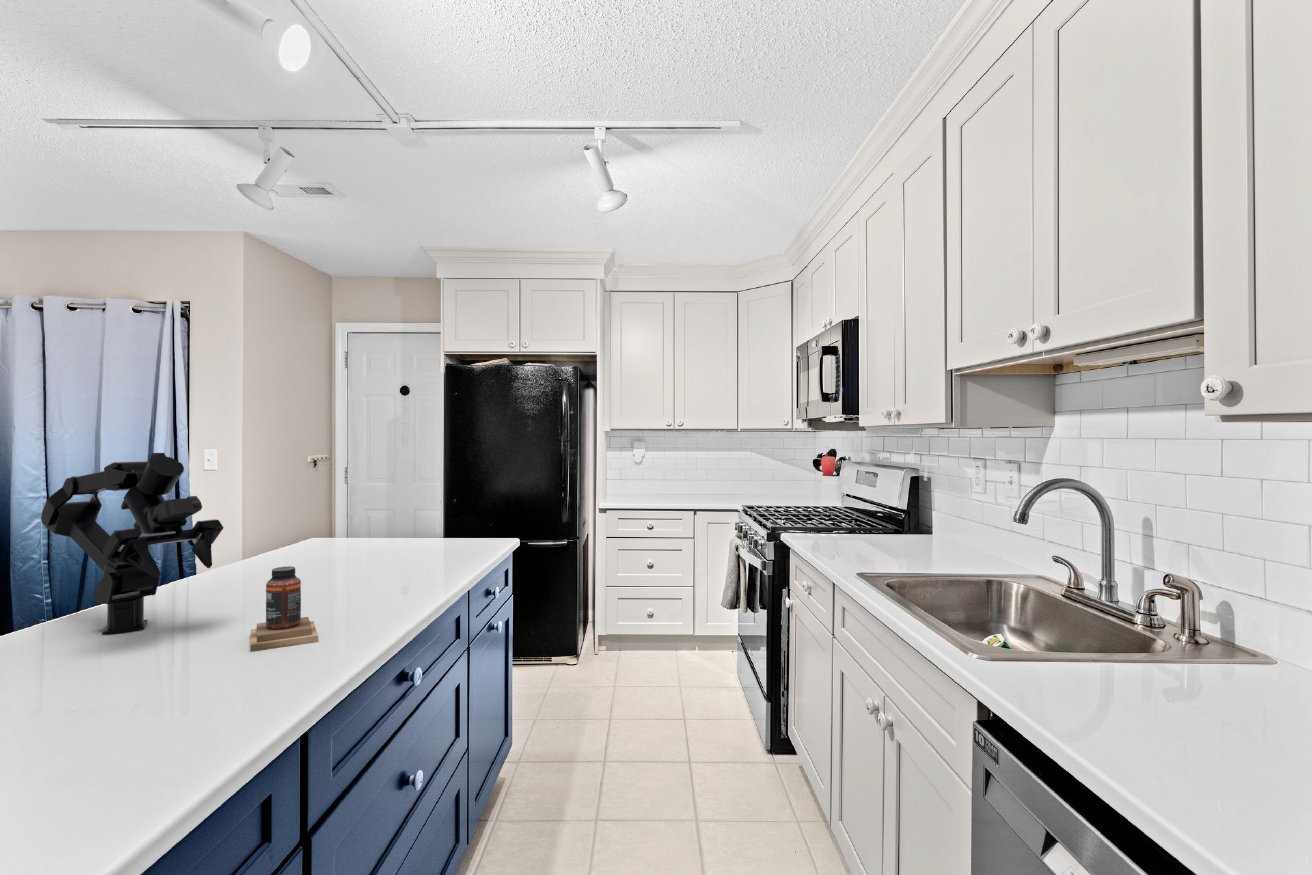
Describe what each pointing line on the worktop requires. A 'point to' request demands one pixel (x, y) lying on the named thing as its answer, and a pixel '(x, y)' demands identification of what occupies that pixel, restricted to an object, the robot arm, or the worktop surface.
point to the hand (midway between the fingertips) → (185, 571)
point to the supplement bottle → (283, 599)
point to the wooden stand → (283, 635)
